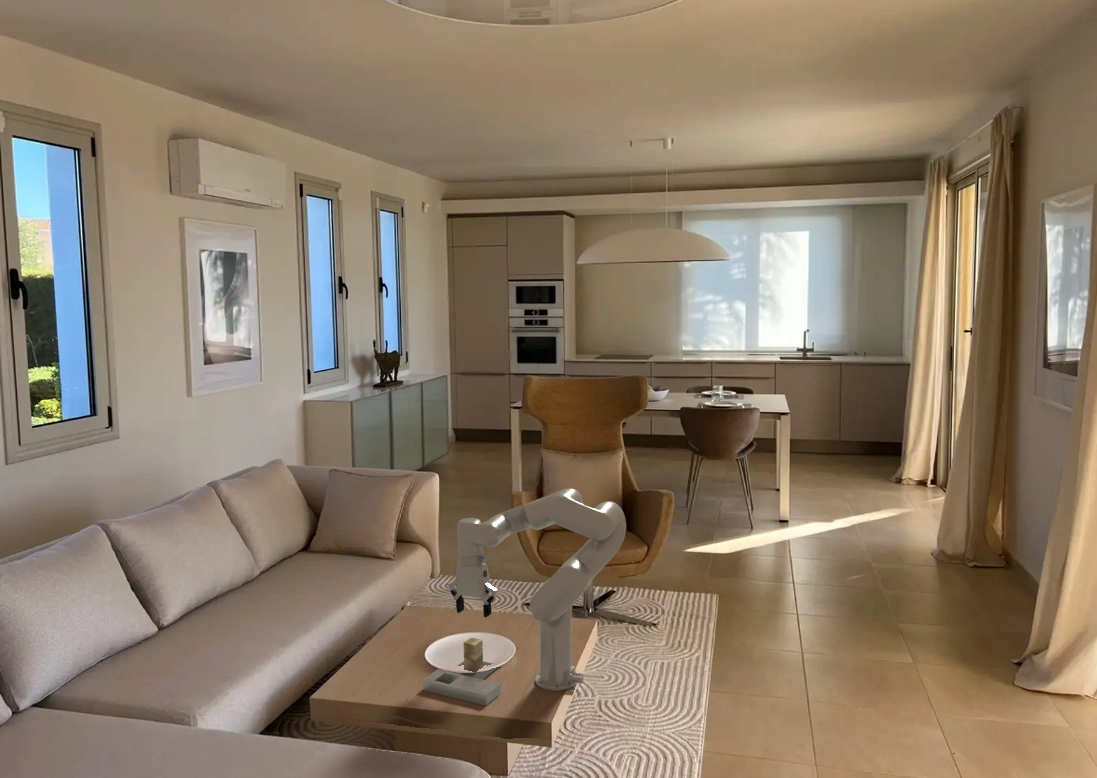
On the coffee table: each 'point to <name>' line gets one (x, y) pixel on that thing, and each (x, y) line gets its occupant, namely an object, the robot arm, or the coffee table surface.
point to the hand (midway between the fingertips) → (473, 613)
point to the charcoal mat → (479, 674)
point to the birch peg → (473, 654)
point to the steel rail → (461, 687)
